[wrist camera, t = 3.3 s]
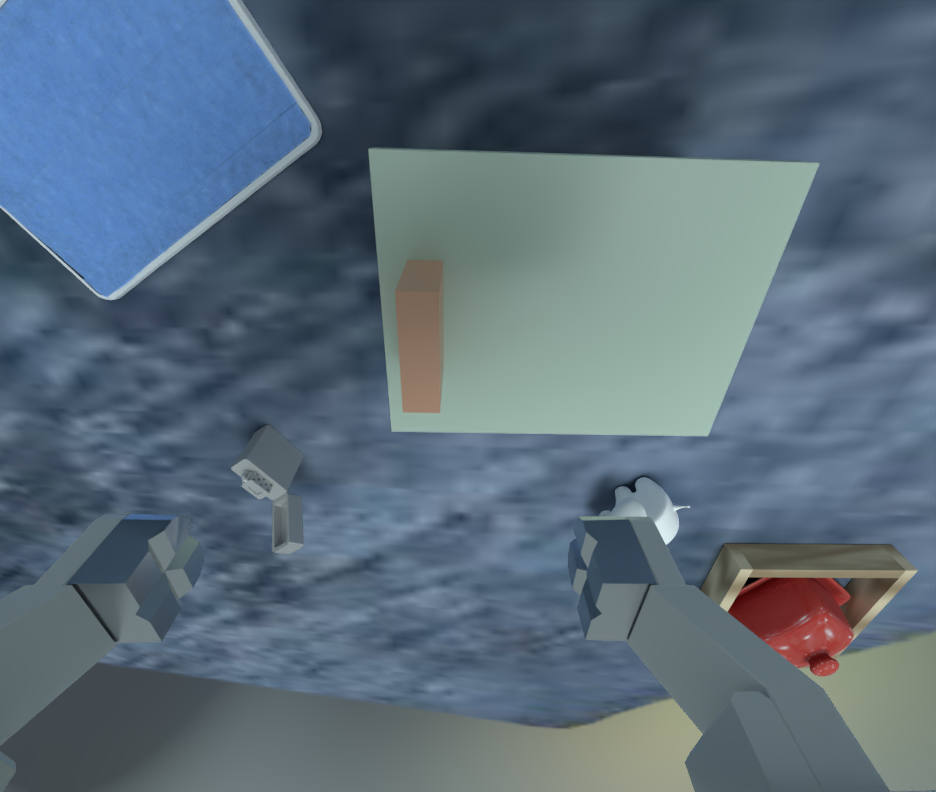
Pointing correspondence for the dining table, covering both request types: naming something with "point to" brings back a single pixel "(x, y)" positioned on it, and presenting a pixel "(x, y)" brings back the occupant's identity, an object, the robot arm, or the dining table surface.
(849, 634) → the butter dish
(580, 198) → the lid
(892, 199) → the dining table surface
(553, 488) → the dining table surface
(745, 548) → the wooden frame
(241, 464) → the lighter
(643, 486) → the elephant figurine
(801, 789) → the robot arm
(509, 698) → the dining table surface
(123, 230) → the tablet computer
